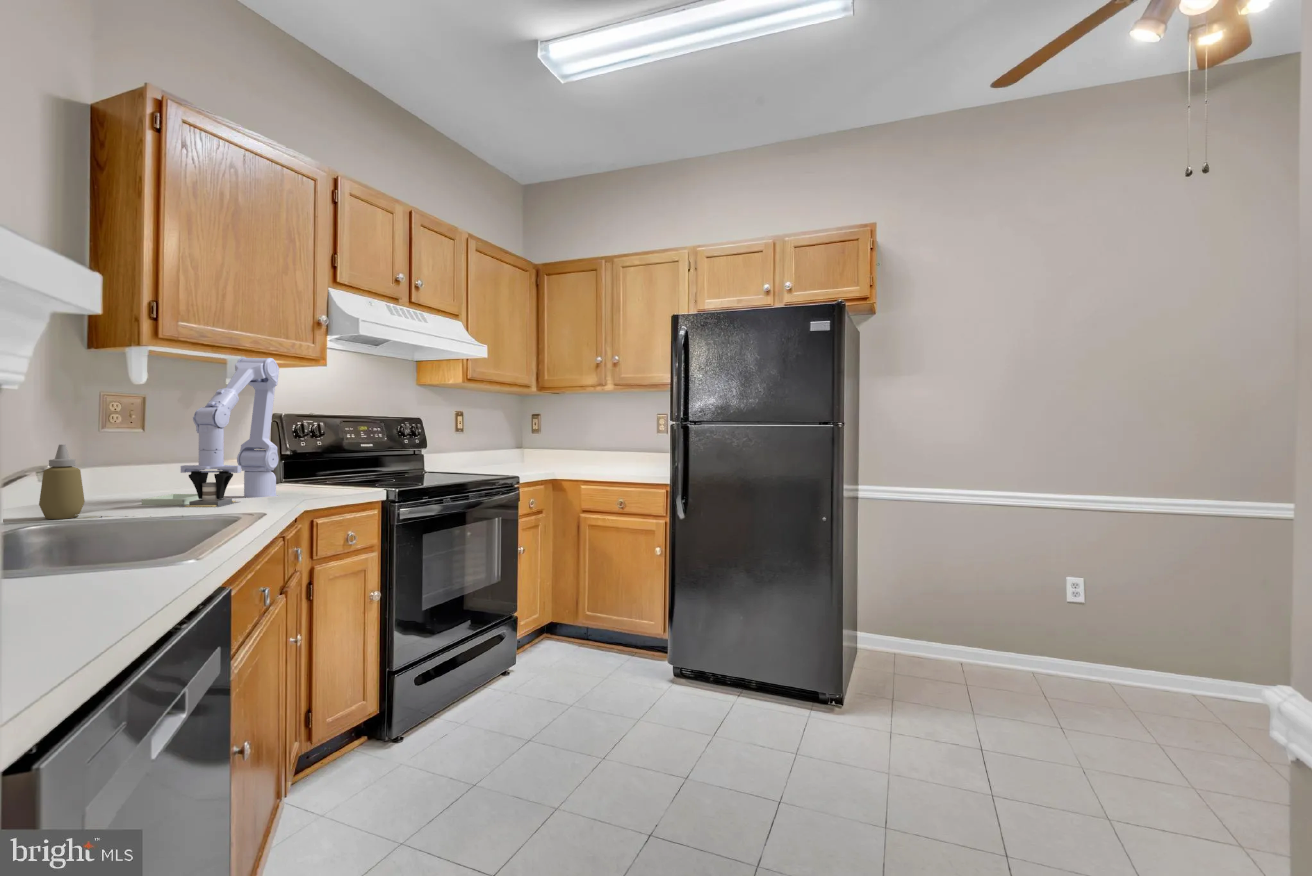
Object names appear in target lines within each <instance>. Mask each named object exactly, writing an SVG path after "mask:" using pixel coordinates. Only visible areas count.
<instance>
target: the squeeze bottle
mask: <svg viewBox="0 0 1312 876" xmlns="http://www.w3.org/2000/svg"><path fill="white" fill-rule="evenodd" d="M75 466H76V459H74V458H70V455H69V452H68V448H67V445H66V444H58V446H57V450H56V453H55V457H54V459H49V460H48V468H46V469H44V470H43V472H42V481H41V486H40V487H41V488H40V494H39V501H38V502H39V503H38V506H39V508H40V510H41V512H42V514H43V517H44V518H45V520H68V519H73V518H78V517H79V515H80V514H81V512H82V509H83V507H84V504H85V502H86V501H85V495H84V494H85V493H84V487H83V479H82V472H81V469H80V468H78V467H75Z"/></svg>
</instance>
